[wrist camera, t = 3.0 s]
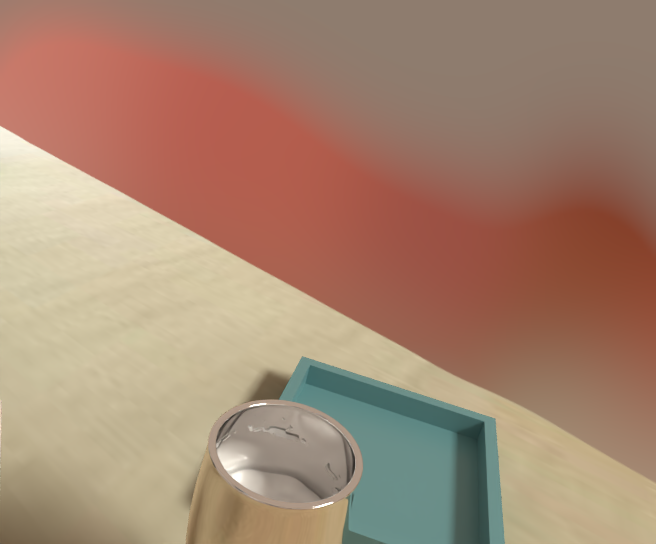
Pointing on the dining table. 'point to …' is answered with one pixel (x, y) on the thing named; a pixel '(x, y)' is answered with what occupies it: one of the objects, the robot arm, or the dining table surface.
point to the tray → (410, 460)
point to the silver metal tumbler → (275, 478)
